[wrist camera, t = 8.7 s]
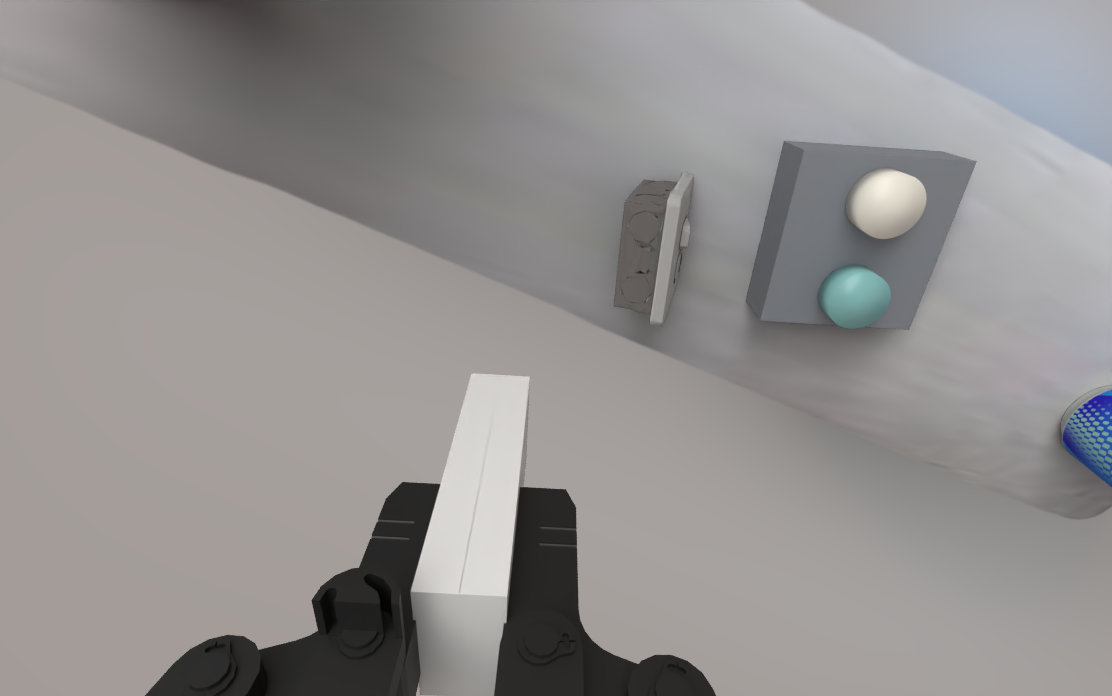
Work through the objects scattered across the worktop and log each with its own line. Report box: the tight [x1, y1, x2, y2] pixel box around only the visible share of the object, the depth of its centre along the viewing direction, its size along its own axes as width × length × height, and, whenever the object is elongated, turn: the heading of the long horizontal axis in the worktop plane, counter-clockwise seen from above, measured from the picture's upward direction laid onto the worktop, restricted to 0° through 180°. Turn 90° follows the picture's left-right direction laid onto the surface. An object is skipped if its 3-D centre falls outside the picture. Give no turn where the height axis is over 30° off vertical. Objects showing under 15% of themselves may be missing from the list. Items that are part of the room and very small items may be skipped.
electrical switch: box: [614, 172, 693, 326], centre depth 42 cm, size 9×5×9 cm, turn 177°
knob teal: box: [818, 265, 891, 329], centre depth 44 cm, size 4×4×6 cm
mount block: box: [746, 141, 977, 330], centre depth 44 cm, size 13×12×4 cm
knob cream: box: [846, 168, 927, 239], centre depth 41 cm, size 4×4×6 cm
